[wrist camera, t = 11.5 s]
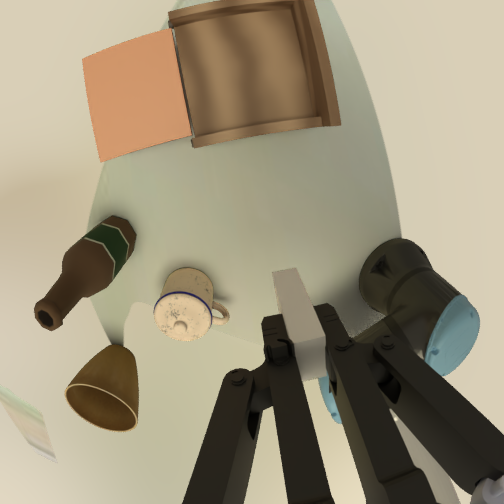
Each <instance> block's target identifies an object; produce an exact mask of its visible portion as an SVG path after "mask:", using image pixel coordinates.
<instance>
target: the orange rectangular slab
mask: <svg viewBox="0 0 504 504" xmlns="http://www.w3.org/2000/svg"><path fill="white" fill-rule="evenodd" d="M82 61H83V70H84V78H85V85H86V91H87V98H88V103H89V110H90V115H91V121H92V126H93V131H94V135H95V140H96V144H97V149H98V153H99V158H100V162H104V161H107V160H110V159H112V158H115V157H118V156H121V155H124V154H127V153H131V152H134V151H137V150H140V149H144V148H147V147H150V146H154V145H157V144H161V143H164V142H168V141H172V140H176V139H180V138H183V137H188V136H192V131H191V127H190V122H189V117H188V112H187V107H186V102H185V97H184V92H183V87H182V82H181V77H180V72H179V66H178V61H177V55H176V50H175V44H174V39H173V33H172V29H171V28H169V29H165V30H161V31H158V32H155V33H151V34H148V35H144V36H141V37H138V38H135V39H132V40H129V41H126V42H123V43H120V44H118V45H115V46H112V47H109V48H107V49H104V50H102V51H100V52H97V53H95V54H92V55H90V56H88V57H85V58H83V59H82Z"/></svg>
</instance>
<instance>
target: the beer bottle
mask: <svg viewBox="0 0 504 504" xmlns="http://www.w3.org/2000/svg"><path fill="white" fill-rule="evenodd" d="M135 239H136V234H135V232H134V231H133V229H132V227H131V226H130V224H129V222H128V221H127V220H124V219H121V218H117V217H114V216H111V217H109V218H108V219H106V220H105V221H103V222H102V223H100V224H99V225H97V226H96V227H94V228H93V229H92V230H91V231H89V232H88V233H87V234H86V235H85V236H83V237H82V238H81V239H80V240H79V241H78V242H76V243H75V244H74V245H73V246H72V247H71V248H70V249H69V250H68V251H67V252H66V253H65V255H64V258H63V261H62V274H61V275H60V277H59V279H58V280H57V281H56V283H55V284H54V285H53V286H52V288H51V289H50V290H49V292H48V293H47V294H46V296H45V297H44V298H43V299H41V300H40V301H38V302H37V303H36V305H35V308H34V313H35V318H36V319H37V321H38V322H39V323H40V325H41V326H42V327H43V328H46V329H48V330H50V331H53V330H55V329H57V328H58V327H60V326H61V325H63V319H64V318H65V316H66V315H67V314H68V313H69V312H70V311H71V310H72V308H73V307H74V306H75V305H76V304H77V303H78V302H79V300H80V299H81V298H82V297H90V296H92V295H94V294H96V293H98V292H99V291H101V290H103V289H105V288H107V287H108V286H109V284H110V283H111V282H112V281H113V280H114V278H115V277H116V275H117V274H118V272H119V271H120V270H121V268H122V267H123V265H124V264H125V263H126V261H127V260H128V258H129V257H130V256H131V254H132V252H133V250H134V244H135Z"/></svg>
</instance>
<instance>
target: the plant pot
mask: <svg viewBox="0 0 504 504" xmlns="http://www.w3.org/2000/svg"><path fill="white" fill-rule="evenodd" d="M65 398H66V400H67V403H68V404H69V406H70V407H71V408H72V409H73V411H75V412H76V413H77V414H78V415H79V416H80V417H81V418H83V419H84V420H86V421H87V422H89V423H90V424H92V425H94V426H97V427H99V428H102V429H105V430H109V431H114V432H126V431H130V430H132V429H134V428H135V427H136V426H137V423H138V405H139V388H138V375H137V366H136V361H135V357H134V355H133V354H132V352H131V351H130V350H128V349H127V348H125V347H123V346H121V345H116V344H113V345H109V346H108V347H106V348H105V349H103V350H102V351H100V352H99V353H98V354H97V355H95V356H94V357H93V358H92V359H91V360H90V361H89V362H88V363H87V364H86V365H85V366H84V367H83V368H82V369H81V370H80V371H79V373H78V374H77V375H76V376H75V377H74V379H73V380H72V381H71V383H70V384H69V385H68V387H67V388H66V390H65Z"/></svg>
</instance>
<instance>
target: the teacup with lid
mask: <svg viewBox="0 0 504 504" xmlns="http://www.w3.org/2000/svg"><path fill="white" fill-rule="evenodd" d="M212 300H213V286H212V283H211V281H210V280H209V278H208V277H207V276H206V275H205V274H204V273H202V272H201V271H198V270H196V269H192V268H182V269H178V270H176V271H174V272H173V273H172V274H170V275H169V277H168V278H167V280H166V283H165V285H164V288H163V290H162V293H161V295H160V298H159V300H158V301H157V303H156V304H155V307H154V319H155V322H156V324H157V326H158V327H159V329H160V330H161V331H162V332H163V333H164V334H166V335H167V336H169V337H171V338H173V339H176V340H180V341H192V340H195V339H198V338H200V337H202V336H203V335H205V334H206V332H207V331H208V330H209V329H210V327H211V324H212V323H213V324H217V325H224V324H226V323H227V322H228V321H229V317H230V315H229V312H228V310H227V309H226V308H225V307H224V306H223V305H221V304H219V303H216V302H214V301H212ZM212 308H213V309H216V310H218V311H219V312H221V313H222V315H223V316H224V318H218V317H215V316H212V313H211V311H212Z"/></svg>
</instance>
